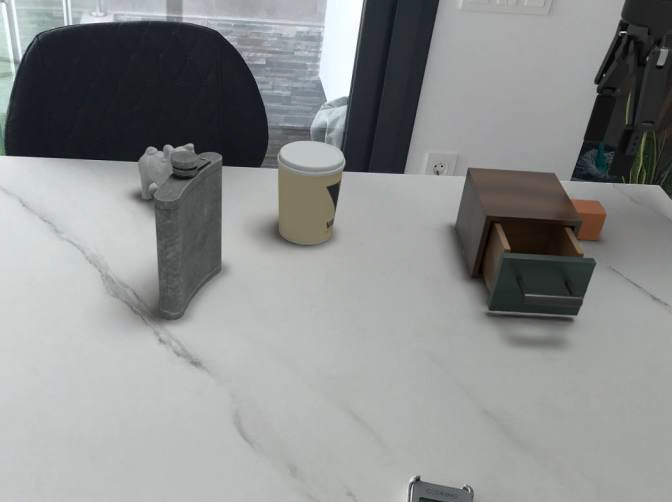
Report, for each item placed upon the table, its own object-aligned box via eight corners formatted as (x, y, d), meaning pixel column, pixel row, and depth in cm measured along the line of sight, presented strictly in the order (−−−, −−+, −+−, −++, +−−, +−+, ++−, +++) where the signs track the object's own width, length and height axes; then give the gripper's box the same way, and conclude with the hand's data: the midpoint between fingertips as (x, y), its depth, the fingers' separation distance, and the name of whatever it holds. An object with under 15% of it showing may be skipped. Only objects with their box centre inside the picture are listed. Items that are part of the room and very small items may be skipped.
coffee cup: (338, 249, 110) (348, 169, 102) (273, 246, 109) (277, 165, 102) (335, 218, 117) (343, 141, 109) (273, 215, 117) (277, 138, 109)
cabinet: (561, 284, 106) (583, 221, 100) (470, 278, 106) (486, 215, 100) (537, 232, 117) (554, 172, 111) (454, 227, 117) (467, 167, 111)
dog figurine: (185, 227, 112) (183, 157, 105) (134, 195, 119) (129, 127, 112) (214, 217, 115) (214, 148, 108) (162, 185, 122) (159, 119, 115)
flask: (150, 314, 95) (141, 176, 83) (200, 260, 105) (198, 131, 94) (177, 322, 94) (172, 183, 83) (224, 266, 105) (226, 136, 93)
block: (589, 226, 120) (598, 200, 117) (598, 240, 117) (607, 214, 114) (561, 224, 120) (569, 198, 117) (569, 239, 116) (577, 212, 114)
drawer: (588, 338, 95) (608, 284, 90) (496, 333, 95) (511, 279, 90) (551, 261, 109) (567, 211, 104) (471, 256, 109) (483, 205, 104)
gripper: (730, 17, 88) (660, 195, 101) (657, -30, 106) (606, 127, 120) (665, 12, 87) (603, 192, 101) (603, -34, 106) (557, 123, 119)
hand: (604, 157), depth 111 cm, fingers open, 11 cm apart
